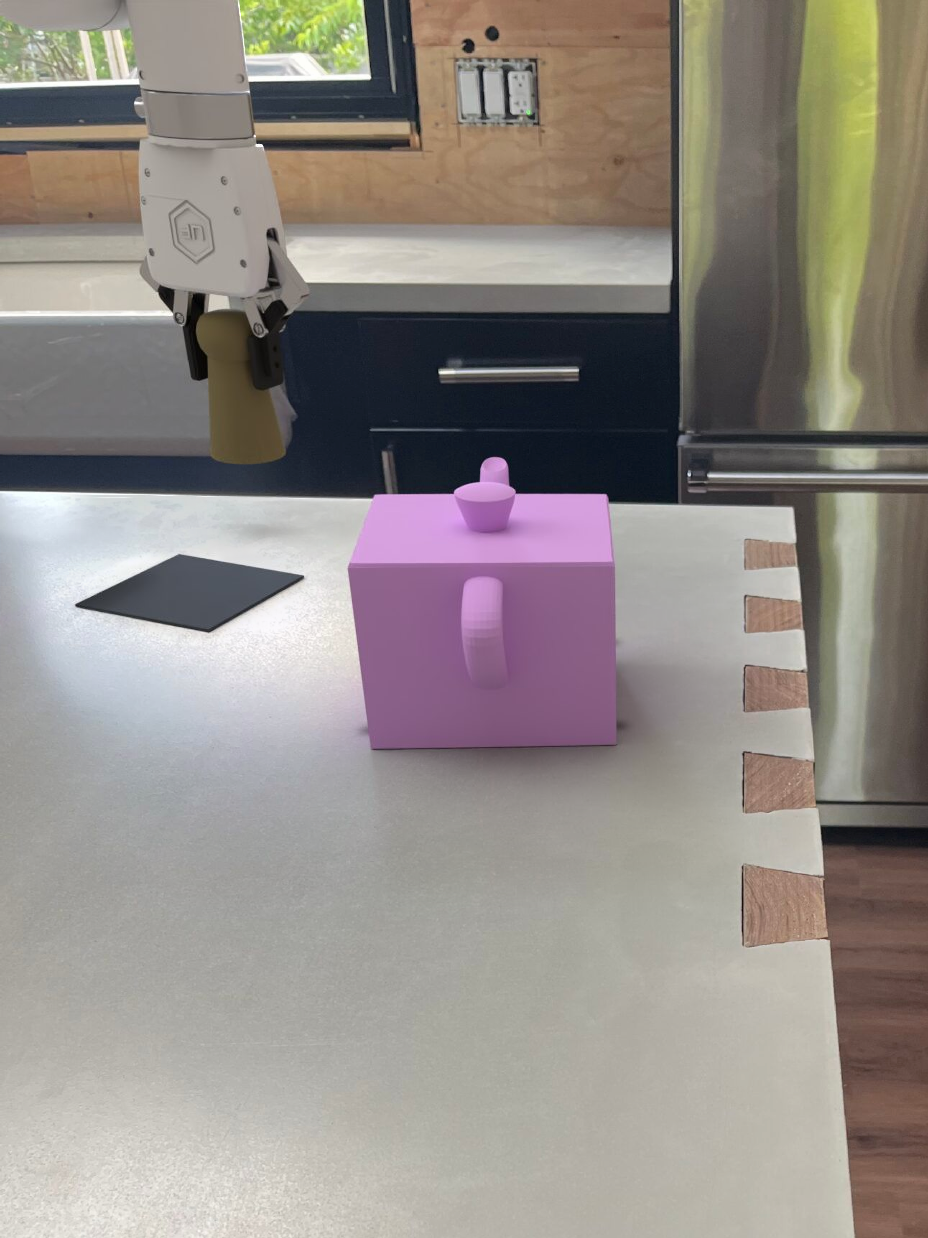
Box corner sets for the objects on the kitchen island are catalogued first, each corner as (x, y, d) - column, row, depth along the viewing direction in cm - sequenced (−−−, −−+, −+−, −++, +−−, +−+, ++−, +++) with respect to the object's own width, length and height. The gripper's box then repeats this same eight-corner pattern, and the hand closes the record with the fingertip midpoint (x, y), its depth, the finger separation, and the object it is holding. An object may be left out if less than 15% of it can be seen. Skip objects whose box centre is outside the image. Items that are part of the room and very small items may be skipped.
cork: (209, 445, 111) (186, 303, 105) (283, 442, 113) (265, 302, 106) (211, 466, 106) (187, 319, 100) (288, 462, 108) (270, 318, 102)
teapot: (606, 621, 99) (604, 428, 91) (619, 782, 78) (617, 552, 70) (402, 623, 97) (381, 427, 89) (361, 787, 77) (329, 553, 69)
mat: (75, 606, 99) (74, 604, 98) (179, 556, 108) (179, 553, 108) (208, 632, 95) (208, 629, 95) (304, 577, 105) (304, 575, 104)
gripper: (68, 114, 95) (119, 378, 106) (269, 133, 91) (301, 406, 101) (138, 109, 101) (180, 360, 111) (330, 126, 96) (355, 386, 107)
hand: (237, 379), depth 106 cm, fingers closed on cork, 5 cm apart
